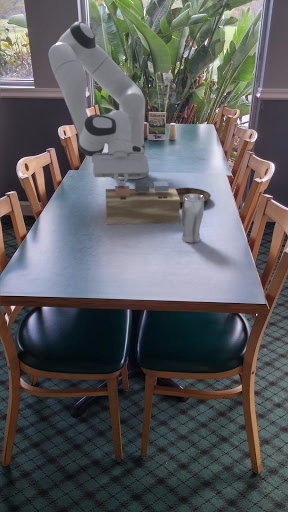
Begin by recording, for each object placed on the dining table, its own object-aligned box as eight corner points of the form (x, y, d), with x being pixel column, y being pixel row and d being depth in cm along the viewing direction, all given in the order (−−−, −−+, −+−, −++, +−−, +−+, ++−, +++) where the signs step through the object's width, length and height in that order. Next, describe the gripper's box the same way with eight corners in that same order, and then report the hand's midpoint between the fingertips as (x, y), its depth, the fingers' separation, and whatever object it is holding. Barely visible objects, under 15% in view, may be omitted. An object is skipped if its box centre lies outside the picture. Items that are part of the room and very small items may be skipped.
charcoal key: (134, 187, 167) (134, 181, 166) (147, 186, 168) (147, 181, 167) (135, 191, 163) (135, 186, 162) (149, 191, 163) (149, 186, 162)
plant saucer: (159, 196, 190) (160, 189, 188) (198, 192, 195) (198, 185, 194) (177, 212, 175) (177, 204, 174) (218, 206, 181) (218, 199, 179)
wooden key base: (106, 211, 174) (105, 188, 169) (173, 210, 176) (174, 187, 171) (106, 224, 163) (106, 200, 159) (178, 222, 165) (180, 198, 161)
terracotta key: (115, 191, 167) (115, 186, 166) (128, 191, 168) (128, 185, 167) (115, 196, 163) (115, 190, 162) (129, 195, 163) (129, 190, 163)
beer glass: (203, 236, 155) (206, 195, 148) (198, 245, 149) (202, 202, 142) (183, 233, 157) (185, 192, 150) (178, 241, 151) (180, 199, 144)
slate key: (153, 186, 168) (153, 181, 167) (166, 186, 168) (166, 181, 167) (154, 191, 164) (154, 186, 163) (168, 191, 164) (168, 185, 163)
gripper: (91, 148, 164) (92, 183, 160) (148, 147, 166) (150, 182, 162) (91, 157, 170) (92, 191, 166) (146, 156, 172) (148, 190, 168)
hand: (121, 186), depth 164 cm, fingers closed
